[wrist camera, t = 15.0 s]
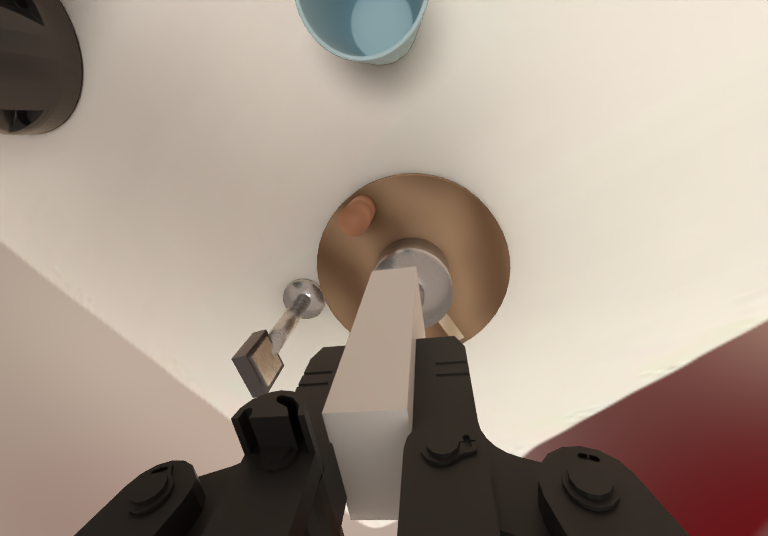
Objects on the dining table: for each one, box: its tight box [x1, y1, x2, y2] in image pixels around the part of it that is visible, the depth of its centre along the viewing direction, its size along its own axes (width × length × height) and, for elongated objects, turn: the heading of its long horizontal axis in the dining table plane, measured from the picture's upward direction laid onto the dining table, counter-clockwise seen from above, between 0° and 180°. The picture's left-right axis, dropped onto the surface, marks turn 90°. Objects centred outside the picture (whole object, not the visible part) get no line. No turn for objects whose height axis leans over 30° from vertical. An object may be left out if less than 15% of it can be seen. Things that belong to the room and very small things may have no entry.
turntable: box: [317, 173, 510, 343], centre depth 33 cm, size 18×18×6 cm
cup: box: [295, 0, 428, 65], centre depth 25 cm, size 8×8×10 cm
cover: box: [373, 237, 453, 329], centre depth 32 cm, size 7×7×6 cm
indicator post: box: [232, 279, 325, 398], centre depth 33 cm, size 4×4×13 cm
